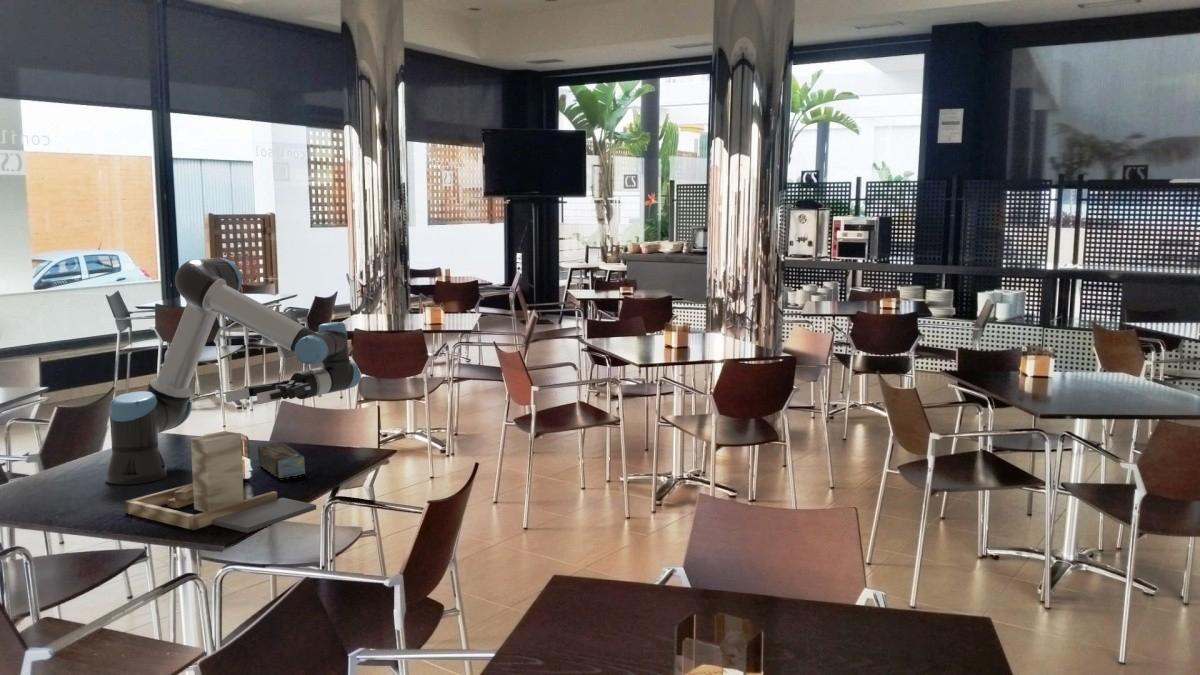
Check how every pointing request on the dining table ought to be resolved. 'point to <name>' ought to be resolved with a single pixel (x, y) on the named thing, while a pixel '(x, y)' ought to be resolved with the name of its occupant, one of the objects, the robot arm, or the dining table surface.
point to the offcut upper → (184, 493)
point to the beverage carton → (281, 460)
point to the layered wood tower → (217, 470)
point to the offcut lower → (179, 502)
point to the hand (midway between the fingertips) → (241, 398)
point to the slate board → (264, 515)
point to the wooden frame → (151, 510)
